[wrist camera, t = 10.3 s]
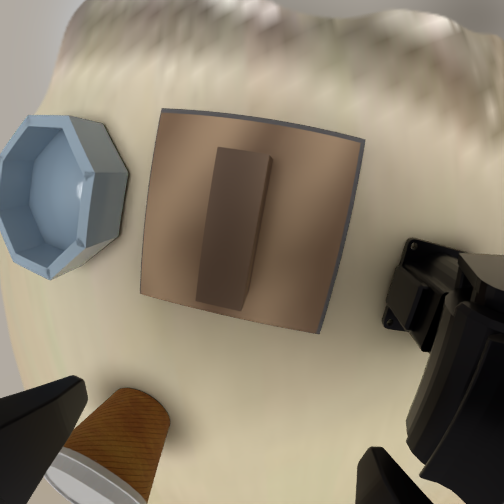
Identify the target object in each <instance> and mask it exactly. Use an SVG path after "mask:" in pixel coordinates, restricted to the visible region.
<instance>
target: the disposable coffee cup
mask: <svg viewBox="0 0 504 504" xmlns="http://www.w3.org/2000/svg"><path fill="white" fill-rule="evenodd" d="M169 426H170V418H169V416H168V414H167V412H166V410H165V409H164V408H163V406H162V405H161V404H159V403H158V402H157V401H156V400H155V399H154V398H152V397H151V396H149V395H147V394H146V393H144V392H141V391H139V390H136V389H131V388H122V389H119V390H117V391H116V392H115V393H114V394H113V395H112V396H111V397H109V398H108V399H107V400H106V401H105V402H104V403H103V404H102V405H100V406H99V407H98V408H97V409H96V410H95V411H94V412H93V413H92V414H90V415H89V416H88V417H87V418H86V419H85V420H84V421H83V422H81V423H80V424H79V425H78V426H77V427H76V428H75V429H74V430H73V431H72V433H71V435H70V437H69V438H68V440H67V441H66V443H65V444H64V446H63V447H62V449H61V450H60V452H59V453H58V455H57V456H56V458H55V460H54V461H53V463H52V464H51V466H50V467H49V469H48V470H47V472H46V473H45V475H44V478H45V479H46V480H47V481H48V482H49V484H50V485H51V486H52V487H53V488H54V489H55V490H56V491H57V492H59V493H60V494H61V495H62V496H63V497H65V498H66V499H67V500H68V501H70V502H71V503H72V504H147V502H148V499H149V495H150V491H151V488H152V484H153V481H154V477H155V473H156V470H157V467H158V463H159V459H160V456H161V452H162V449H163V446H164V442H165V438H166V435H167V432H168V428H169Z"/></svg>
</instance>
